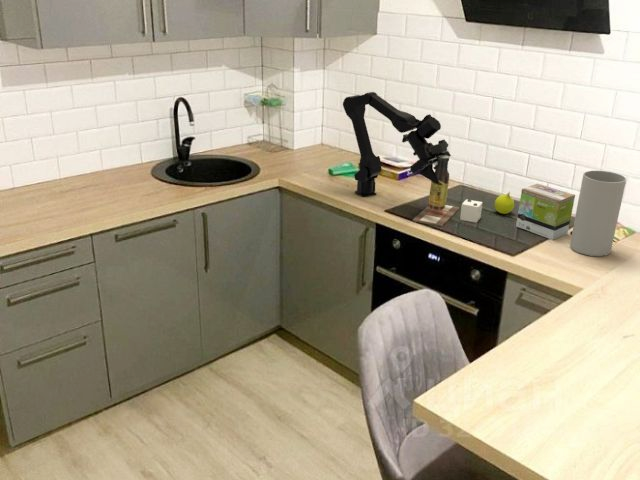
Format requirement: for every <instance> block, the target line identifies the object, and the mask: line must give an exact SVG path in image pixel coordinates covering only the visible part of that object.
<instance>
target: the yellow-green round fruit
mask: <svg viewBox="0 0 640 480" xmlns="http://www.w3.org/2000/svg"><path fill="white" fill-rule="evenodd" d="M514 208H515V200H514V199H513V198H512V197H511V196H510V191H508V192H507V194H500V195H499V196H498V197H496V199H495V200H494V209H495V210H496V211H497V212H498V213H499V214H502V215H506V214H509V213H511V212H512V211H513V210H514Z"/></svg>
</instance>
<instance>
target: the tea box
mask: <svg viewBox="0 0 640 480" xmlns="http://www.w3.org/2000/svg"><path fill="white" fill-rule="evenodd" d="M520 192H521V194H520V199H519V205H518V211H517V218H516V223H515V224H516V225H515V226H516V228H519V229H523V230H526V231H528V232H531V233H533V234H536V235H539V236H541V237H544V238H546V239H549V240H551V241H553V240H556V239H557V238H560V237H563V236H565V235H567V234H568V233H569V229H570V224H571V218H572V215H573V214H572V213H573V209H574V203H575V198H576V194H573V193H570V192H567V191H564V190H561V189H557V188H553V187H550V186H547V185H544V184H540V183H535V184H532V185H530V186H526V187H524V188H521V191H520Z"/></svg>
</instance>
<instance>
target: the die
mask: <svg viewBox="0 0 640 480" xmlns="http://www.w3.org/2000/svg"><path fill="white" fill-rule="evenodd" d="M483 204H484V203H483V201H480V200H479V201H478V200H472V199H468V198H467V199H465V200H464V201H463V202H462V203H461V208H460V218H459V220H460V221H465V222H470V223H478V222H479V221H480V219H481V217H482V210H483Z"/></svg>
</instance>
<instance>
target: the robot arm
mask: <svg viewBox="0 0 640 480" xmlns="http://www.w3.org/2000/svg"><path fill="white" fill-rule="evenodd" d="M366 105H369V107H371V108H373V109H374V110H376V111H377V112H378V113H379V114H380V115H382V116H384V117H385V118H387V119H388V120H389V121H390V123H391V125H392V127H393V128H395V130H396V131H397V132H399V133H401V134H403V135H402V139H401V143H402V144H403V143H406V142H407V143H408V144H409V145H410V148H411V149H412V150H413V153H412V154H413V156H416V157H417V158H418V160H417V161H415V162H414V163H413V164H411V166H410V172H411V173H412V174H413V175H414V174H418V175H421V176H422V177H424V178H426V179H428V180H429V181H432V182H434V183H436V184H438V183H439V181H438V178H437V177H436V175H435V173H434V172H435V170H436V168H437V163H438V156H439V155H447V156H449V158H450V157H452V155H451V153H450V152H449V150H448V146H449V143H448V142H447V140H445V139H442V140H438V141H437V142H438V143H437V144H433V143H432V142H428V141H427V139H430V138H431V137H433V136H434V135H435V134H436V133H437V132H439V130H441V129H442V125H441V122H440V121H439V120H438V119H437V118H435V117H433V116H432V114H431V113H430V114H426V115H425V116H424V117H423V119H422V120H420V119H417V118H416V117H415V115H413V114H411V113H408V111H407V112H406V111H402V110H400V109H397V108H396V107H395V106H393V105H392V104H391V103H389V102H387V100H385V99H384V98H382V97H381V96H379V95H378V94H377V92H374V91H370V92H369V91H368V92H366V93H364V94H361V95H360V94H356V95H351V96H347V97H345V98H344V99H343V102H342V107H343V109H344V112H345V114H346V116H347V117H348V119H350V120H351V123H352V127H353V130H354V135H355V138H356V142H357V146H358V151H359V154H360V159H359V163H358V167H359V170H358V171H357V172H356V173H355V174H353V176H354V179H355V181H357V185H356V187H357V188H356V190H354V194H357V195H359V196H361V197H363V198H364V197H365V198H366V197H370V196H376V195H377V193H376V179H377V178H378V177H379V175H380V174H381V171H382V166H383V164H382V161H381V157H380V156H379V155H375V154H374V151H373V148H372V144H371V143H372V142H371V140H370V139H371V138H370V136H369V132H368V128H367V123H366V121H365V113H366V110H367V109H366ZM406 132H408V134H407V133H406ZM404 133H406V134H404Z"/></svg>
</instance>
